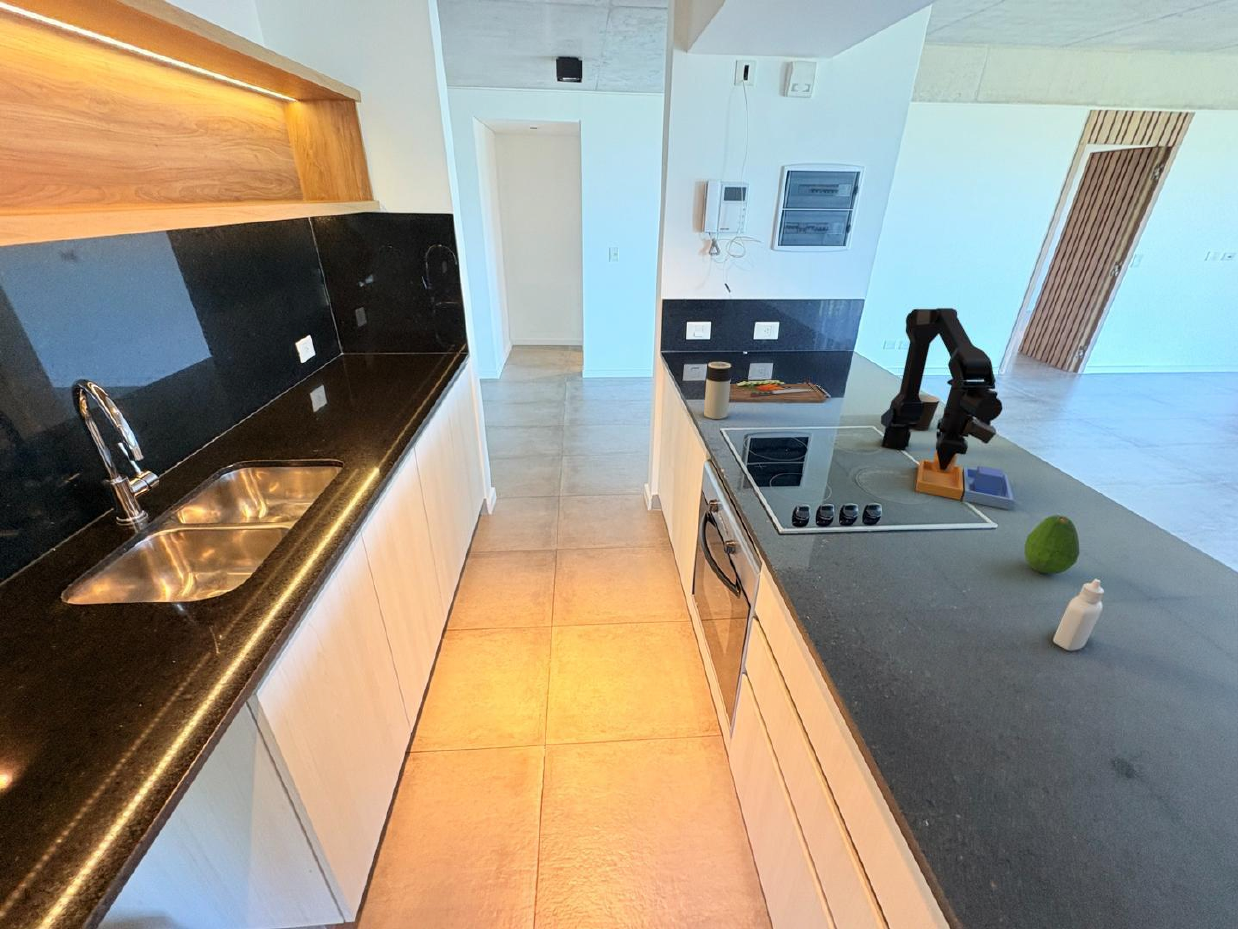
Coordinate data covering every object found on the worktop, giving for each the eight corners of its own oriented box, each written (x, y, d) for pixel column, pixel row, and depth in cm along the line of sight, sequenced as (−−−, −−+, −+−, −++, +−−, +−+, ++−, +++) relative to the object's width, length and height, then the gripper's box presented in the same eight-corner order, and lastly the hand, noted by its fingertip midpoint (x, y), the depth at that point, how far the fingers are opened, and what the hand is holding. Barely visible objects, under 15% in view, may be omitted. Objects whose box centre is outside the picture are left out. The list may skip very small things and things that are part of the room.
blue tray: (962, 500, 127) (965, 490, 126) (961, 475, 139) (963, 466, 138) (1010, 510, 123) (1013, 500, 121) (1004, 483, 135) (1007, 474, 134)
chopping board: (813, 382, 219) (814, 375, 218) (835, 402, 195) (836, 394, 194) (704, 381, 221) (705, 374, 219) (713, 401, 196) (713, 393, 195)
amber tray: (915, 490, 131) (918, 481, 130) (918, 467, 144) (920, 459, 143) (960, 500, 127) (963, 490, 126) (959, 475, 139) (962, 466, 138)
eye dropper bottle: (1041, 631, 86) (1067, 571, 81) (1076, 632, 86) (1104, 572, 81) (1060, 651, 82) (1089, 589, 77) (1097, 652, 82) (1128, 590, 77)
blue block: (973, 491, 130) (979, 473, 128) (972, 483, 134) (978, 465, 132) (997, 496, 128) (1003, 477, 126) (996, 487, 132) (1002, 469, 129)
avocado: (1008, 564, 103) (1028, 511, 98) (1033, 555, 106) (1054, 503, 101) (1052, 588, 97) (1076, 532, 91) (1078, 577, 99) (1102, 522, 94)
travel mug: (717, 421, 177) (721, 368, 170) (699, 415, 183) (702, 364, 175) (732, 416, 182) (736, 364, 174) (714, 410, 187) (718, 360, 180)
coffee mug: (936, 432, 167) (944, 402, 163) (906, 430, 169) (913, 401, 165) (924, 420, 178) (931, 391, 173) (896, 418, 179) (903, 390, 175)
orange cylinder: (931, 471, 133) (936, 453, 131) (932, 464, 137) (936, 446, 135) (952, 475, 131) (957, 456, 129) (952, 468, 135) (957, 450, 133)
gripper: (1002, 425, 116) (982, 488, 122) (996, 402, 131) (978, 459, 137) (944, 416, 121) (927, 477, 127) (944, 395, 136) (929, 451, 142)
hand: (942, 466), depth 133 cm, fingers closed on orange cylinder, 4 cm apart
